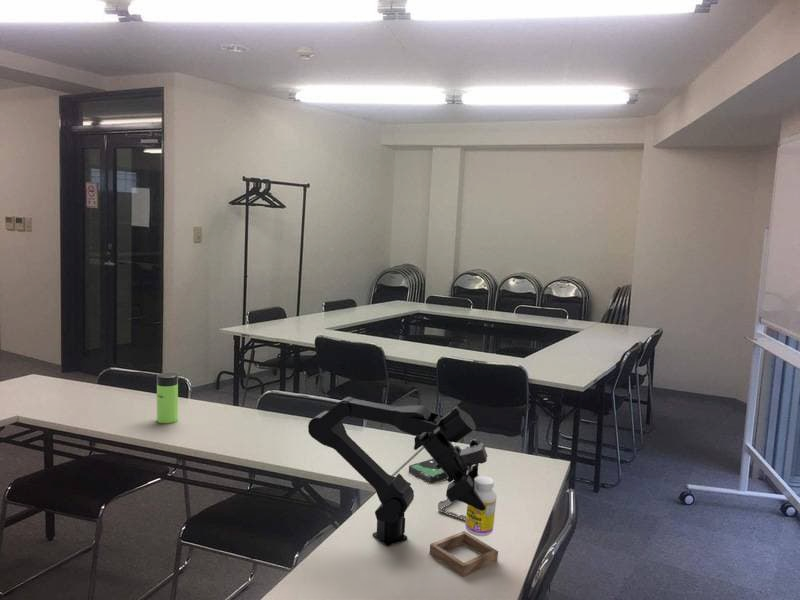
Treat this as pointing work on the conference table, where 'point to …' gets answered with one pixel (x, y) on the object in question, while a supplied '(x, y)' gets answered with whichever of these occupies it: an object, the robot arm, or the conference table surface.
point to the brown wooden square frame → (462, 568)
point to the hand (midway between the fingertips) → (485, 503)
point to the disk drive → (427, 471)
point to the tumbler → (167, 397)
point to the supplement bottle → (483, 520)
